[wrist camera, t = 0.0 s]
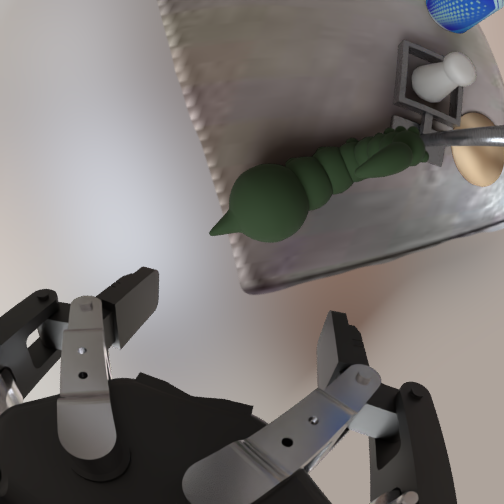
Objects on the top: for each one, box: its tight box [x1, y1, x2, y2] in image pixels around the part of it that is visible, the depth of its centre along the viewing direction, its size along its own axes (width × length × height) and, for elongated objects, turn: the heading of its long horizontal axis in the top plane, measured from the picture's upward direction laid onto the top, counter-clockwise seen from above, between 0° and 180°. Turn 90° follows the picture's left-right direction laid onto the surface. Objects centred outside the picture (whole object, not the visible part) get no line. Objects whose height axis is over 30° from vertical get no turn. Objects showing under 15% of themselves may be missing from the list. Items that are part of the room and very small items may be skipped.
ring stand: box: [390, 40, 504, 167], centre depth 21 cm, size 16×10×22 cm, turn 170°
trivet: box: [451, 113, 504, 187], centre depth 31 cm, size 12×12×1 cm
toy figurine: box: [209, 126, 429, 242], centre depth 30 cm, size 9×19×25 cm
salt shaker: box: [411, 52, 477, 103], centre depth 24 cm, size 6×6×13 cm
